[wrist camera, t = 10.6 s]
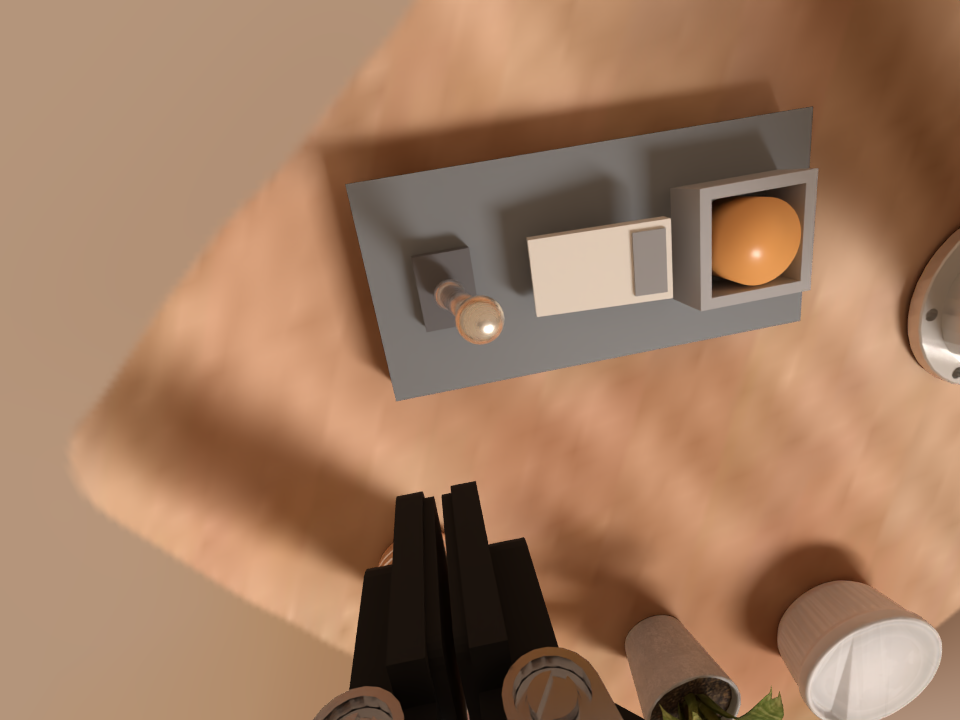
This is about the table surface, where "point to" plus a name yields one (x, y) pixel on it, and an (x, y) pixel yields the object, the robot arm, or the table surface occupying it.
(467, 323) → the toggle lever
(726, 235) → the push button
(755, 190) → the control panel
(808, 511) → the table surface
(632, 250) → the rocker switch
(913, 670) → the ramekin
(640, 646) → the house plant
